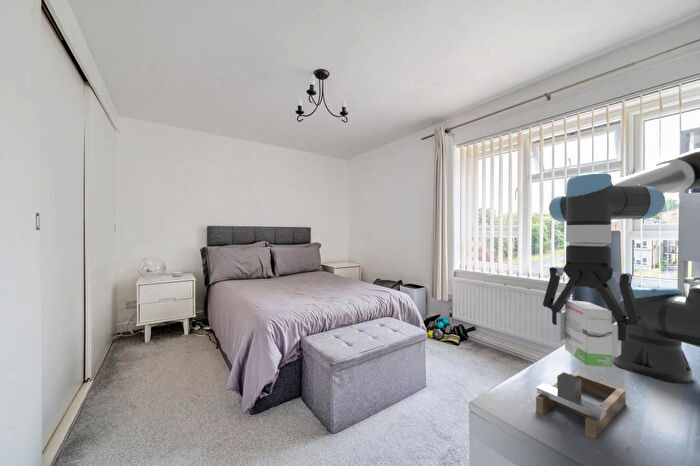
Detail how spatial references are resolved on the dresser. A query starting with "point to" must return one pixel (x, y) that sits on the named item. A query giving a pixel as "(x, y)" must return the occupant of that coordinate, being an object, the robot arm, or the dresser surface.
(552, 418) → the dresser surface
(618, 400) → the dock
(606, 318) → the ink box
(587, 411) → the bar
